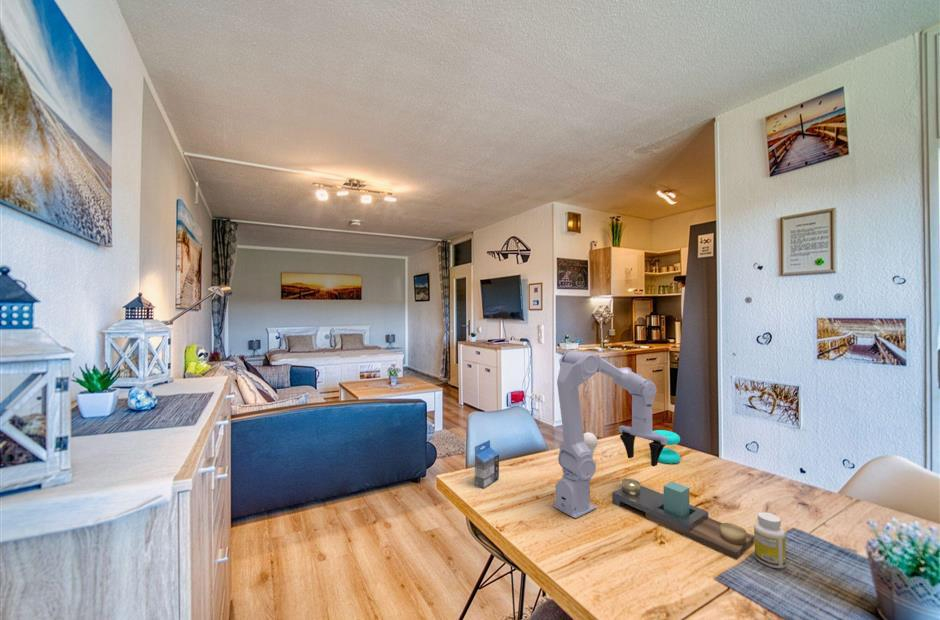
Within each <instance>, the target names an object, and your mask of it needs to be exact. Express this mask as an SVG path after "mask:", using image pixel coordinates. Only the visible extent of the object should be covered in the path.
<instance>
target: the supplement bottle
mask: <svg viewBox="0 0 940 620" xmlns="http://www.w3.org/2000/svg"><path fill="white" fill-rule="evenodd" d="M781 522H782V521H781V518H780V517H779V516H777V515H775V514H773V513H770V512H761V511H760V512H758V513H757V522H755V523H754V525H753V530H754V531H753V533H754V535H753V536H754V543H753V544H754V557H755V559H756V560H757V561H758V562H760V563H761V564H763V565H764V566H767V567H770V568H772V569H783V568H785V567H786V565H787V562H786V559H787V556H786V554H787V553H786V533H785V531H784V530H783V529H782V528H781V525H782V524H781Z"/></svg>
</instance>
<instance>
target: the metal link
mask: <svg viewBox="0 0 940 620" xmlns="http://www.w3.org/2000/svg"><path fill="white" fill-rule="evenodd" d="M611 494H612V495H611V501H612V502H611V503H612V504H614V505H616V506H619V507H622V506H624V505H625V504H626V505H628V506H630V507H632V508H635V509H637V510H639V511H642V512H644V513H645V514H646V513H648V514H650V515H653V516H655V517H657V518H659V519H662V520H664V521H666V522H668V523H671V524H673V525H675V526H677V527H680V528H682V529H684V530H686V531H688V532H689V531H691V530H692V529H693V528H695V527H696V526H697V525H699V524H700V523H702V522H703V521H704V520H706V519H707V518H709V511H708V510H705V509H702V508H699V507H698V506H695V505H692V504H690V503H689V514H691V515H689V516H688V517H686V518H685V519H683V518H680V517H678V516H676V515H673V514H671V513H669V512H666V511H664V493H661V492H658V491H656V490H654V489H651V488H649V487H647V486H644V485H641V482H639V481H638V480H636V479H634V478H623V479H622V480H621V487H620V488H619V489H616V490H614V491H612V493H611Z"/></svg>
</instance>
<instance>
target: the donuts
mask: <svg viewBox="0 0 940 620" xmlns="http://www.w3.org/2000/svg"><path fill="white" fill-rule="evenodd" d="M652 432H655V433H657V434H660V435H662V436H665V437H667V444H665V446H675V445H678V444H679V443H680V442H681V436H680V435H679V434H677V432H674V431H669V430H665V429H656V430H652ZM650 455H651V452H650ZM680 460H681V455H680V454H679V453H678V452H677V451H676V450H673V449H671V448H668V447H664V448H663V450H662V451H661V454H660V456H659V459H658V463H659V462H660V463H662V464H668V463H671V464H673V463H674V464H677V463H679V462H680Z"/></svg>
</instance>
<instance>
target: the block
mask: <svg viewBox="0 0 940 620" xmlns="http://www.w3.org/2000/svg"><path fill="white" fill-rule="evenodd" d="M663 494H664V511H666V512H669V513H671V514H673V515H676V516H678V517H680V518H683V519H685V518H686V517H688V516H689V504H690V487H689V486H685V485H683V484H680V483H677V482H674V481H670V482H669V483H667V484H665V485H663Z"/></svg>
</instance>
